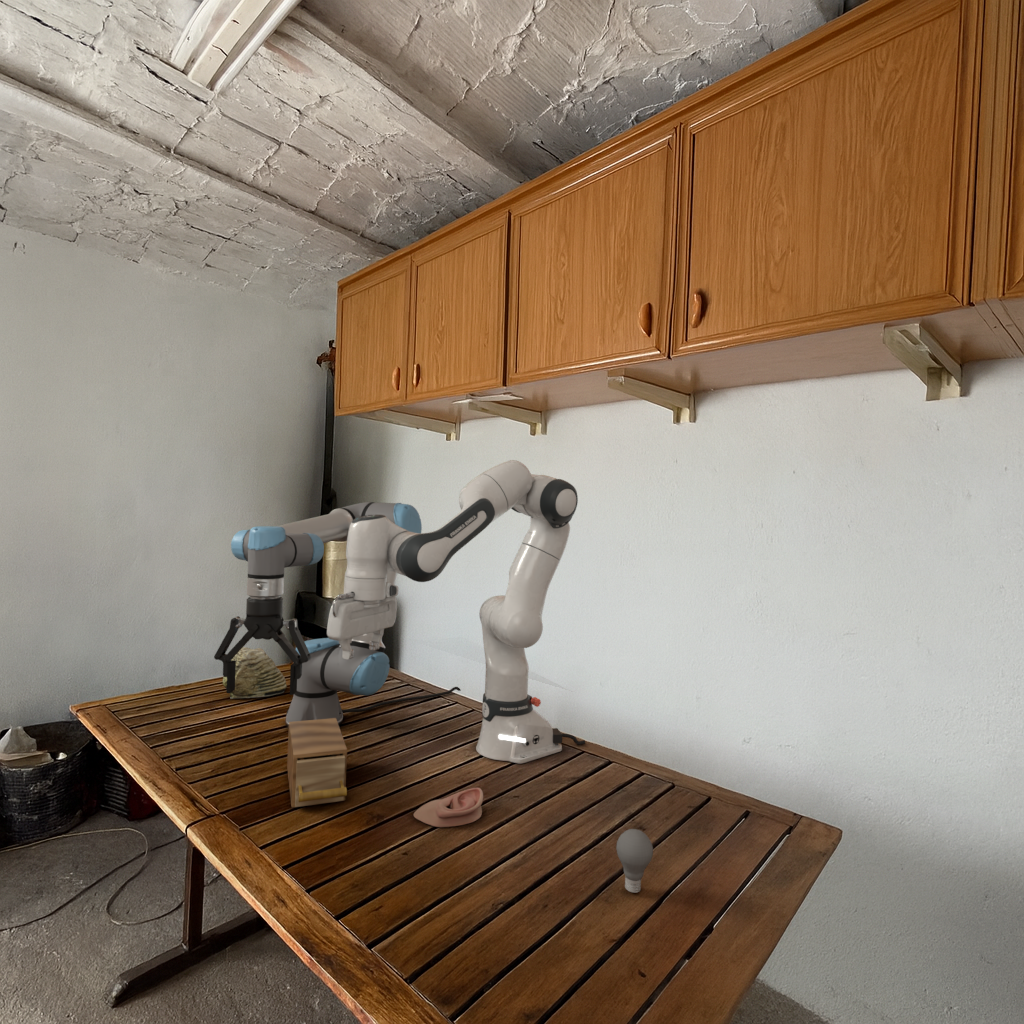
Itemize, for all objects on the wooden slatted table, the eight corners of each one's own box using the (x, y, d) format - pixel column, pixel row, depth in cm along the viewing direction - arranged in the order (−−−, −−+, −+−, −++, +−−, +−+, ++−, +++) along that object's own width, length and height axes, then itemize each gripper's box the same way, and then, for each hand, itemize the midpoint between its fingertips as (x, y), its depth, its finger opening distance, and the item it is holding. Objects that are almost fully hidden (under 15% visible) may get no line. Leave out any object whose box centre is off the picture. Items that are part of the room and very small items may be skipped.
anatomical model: (408, 802, 124) (427, 778, 135) (407, 822, 124) (427, 796, 136) (473, 812, 122) (488, 786, 133) (473, 832, 122) (487, 805, 133)
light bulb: (610, 879, 108) (613, 822, 108) (644, 879, 109) (647, 822, 109) (619, 902, 102) (622, 840, 102) (655, 901, 103) (658, 840, 103)
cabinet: (345, 800, 133) (347, 749, 132) (291, 807, 129) (293, 754, 128) (334, 762, 151) (336, 717, 151) (287, 768, 147) (288, 721, 147)
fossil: (218, 695, 195) (220, 647, 195) (278, 685, 208) (279, 640, 207) (228, 703, 189) (230, 653, 188) (289, 692, 201) (290, 645, 201)
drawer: (347, 813, 126) (348, 768, 125) (297, 820, 122) (298, 774, 122) (333, 764, 148) (334, 726, 148) (290, 769, 144) (292, 730, 144)
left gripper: (199, 597, 135) (196, 695, 136) (317, 601, 136) (314, 699, 137) (214, 591, 143) (211, 685, 143) (326, 595, 144) (323, 688, 144)
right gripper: (347, 597, 125) (343, 666, 125) (402, 586, 144) (399, 647, 144) (321, 593, 127) (317, 661, 128) (379, 584, 146) (376, 643, 147)
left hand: (262, 692), depth 140 cm, fingers open, 13 cm apart
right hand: (361, 654), depth 136 cm, fingers open, 8 cm apart
